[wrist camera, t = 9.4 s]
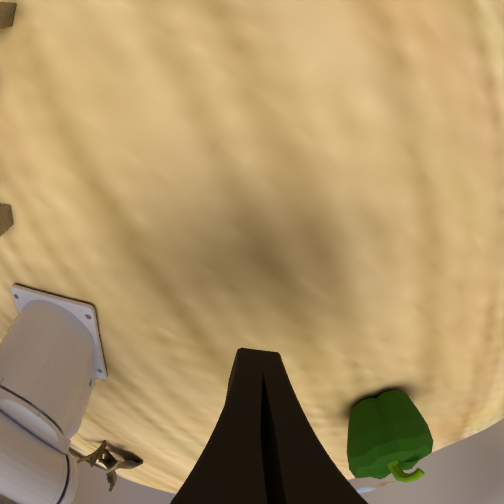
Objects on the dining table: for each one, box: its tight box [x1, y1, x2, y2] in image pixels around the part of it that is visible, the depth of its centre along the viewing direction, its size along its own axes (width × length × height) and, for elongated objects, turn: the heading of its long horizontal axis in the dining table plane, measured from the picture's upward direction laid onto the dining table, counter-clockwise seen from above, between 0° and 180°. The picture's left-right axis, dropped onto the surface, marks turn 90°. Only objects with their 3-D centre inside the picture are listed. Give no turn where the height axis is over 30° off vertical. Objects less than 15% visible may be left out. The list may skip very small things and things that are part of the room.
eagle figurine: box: [77, 440, 143, 491], centre depth 36 cm, size 8×7×9 cm
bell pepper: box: [347, 390, 433, 482], centre depth 25 cm, size 8×8×10 cm
